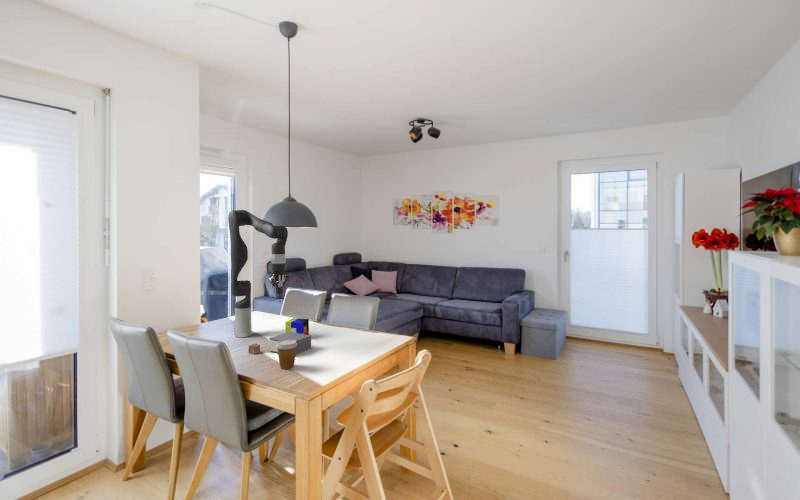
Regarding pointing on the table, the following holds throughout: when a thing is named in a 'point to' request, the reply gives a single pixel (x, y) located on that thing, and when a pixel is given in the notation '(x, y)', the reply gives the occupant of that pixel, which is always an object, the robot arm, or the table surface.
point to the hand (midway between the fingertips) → (279, 293)
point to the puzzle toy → (298, 326)
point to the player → (301, 340)
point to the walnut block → (254, 348)
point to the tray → (273, 346)
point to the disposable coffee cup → (286, 353)
